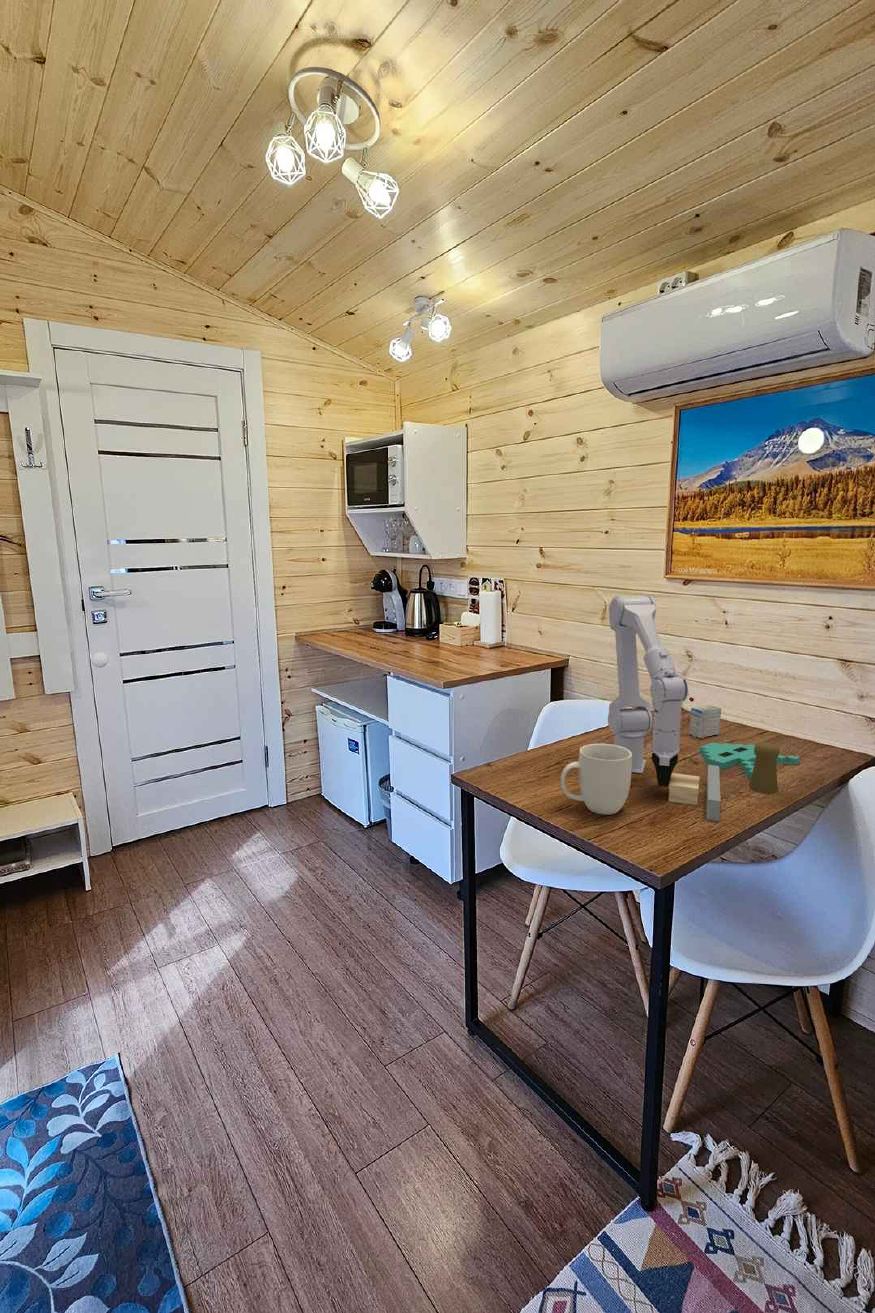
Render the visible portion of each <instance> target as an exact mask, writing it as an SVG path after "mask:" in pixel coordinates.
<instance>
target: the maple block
mask: <svg viewBox="0 0 875 1313" xmlns="http://www.w3.org/2000/svg"><path fill="white" fill-rule="evenodd" d="M668 787H669V789H668V790H669V791H668V802H671V803H678V804H685V805H691V806H698V804H699V803H698V800H699V790H700V788H699V787H700V776H698V775H690V774H683V773H676V772H672V774H671V778H670V782H669V785H668Z"/></svg>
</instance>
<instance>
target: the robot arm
mask: <svg viewBox="0 0 875 1313" xmlns="http://www.w3.org/2000/svg"><path fill="white" fill-rule="evenodd" d="M656 613H657V606H656V601H655V600H654V598H653V597H652V595H638V596H637V595H636V596H629V595H628V596H619V595H617V596H614V597H613V598H612V599H611V601H610V604H609V607H608V617H609V628H610V630H612V631H614V633H615V637H614V638H615V649H616V650H615V651H616V652H615V653H616V666H617V668H616V669H617V682H618V684H617V685H618V696H617V697H616V698H615V699H613V701H611V703H609V705H608V715H607V725H608V727H609V730H610V731H611V732H612V733H613V734H614V741H613V742H614V743H613V745H617V746H621V747H624V748H626V749H628V750H629V751H630V752H631V753H632V769H631V770H632V771H631V773H637V774H643V773H644V770H645V767H646V763H647V760H646V759H644V740H645V736H647V735H648V732H650V730H651V728H652V743H651V744H650V743H648V744H646V750H649V751H652V753H651V761H652V764H653V765H654V769H655V774H656V779H657V785H658V787H665V788H668V787H669V786H670V780H671V775H672V773H673V771H674V770H675V767H676V766H677V764H678V762H679V753H680V751H681V750H680V738H681V737H680V736H681V735H680V734H681V720H682V704H683V703H682V702H684V701H686V700H687V698H688V696H689V695H688V694H689V686H688V683H687V679H686V678H685V677H684V675H681V673H680V672H679V671H676V667H675V666H674V663H673V661H672V658H671V655H670V653H669V650H668V649H666V648H664V647H662V644H661V641H660V638H659V635H658V631H657V627H656V624H655V618H656ZM637 637H638V638H639V640H640V642H641V645H642V647H643V648H644V650H645V653H644V655H643V661H644V664H645V667H646V669H647V672H648V675H649V678H650V681H651V684H650V686H649V692H650V697H651V706H652V708H653V715H652V712H651V708H650V702H648V701H647V700H646V699H644V698H643V697H642V696H641V694H640V680H639V679H640V678H639V665H638V650H637V649H638V648H637ZM631 707H632V708H631ZM633 707H634V708H633Z"/></svg>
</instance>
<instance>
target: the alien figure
mask: <svg viewBox="0 0 875 1313" xmlns="http://www.w3.org/2000/svg"><path fill="white" fill-rule="evenodd" d="M755 745H756V744H751V743H750V744H747V745H745V744H741V743H736V744H731V743H728V742H725V743H719V742H711V743H707V744H704V745H701V746H699V751H698V753H699V754H701V753H702V754H701V757H702V758H703V761H704V760H705V761H704V762H706V765H707V766H708V765H713V766H719V770H722V771H723V770H725V769H729V768H731V767H730V766H732V767H734V766H737V765H738V764H740V765H739V766H740V769H742V770H743V769H744V771H743V774H745V773H746V774H745V775H747V778H748V779H750V780H751V776H752V772H753V768H754V764H755V760H756V755H755V753H754V748H755ZM800 760H801V758H800V757H799V756H796V755H791V754H790V755H788V756H784V755H782V754H779V756H778V757H777V758H776V763H779V764H778V765H780V764H783V763H785V762H788V763H791V764H794V765H795V764H797V763H799V764H800ZM736 764H737V765H736ZM783 765H784V764H783ZM794 765H793V766H794ZM795 766H796V765H795ZM728 767H729V768H728Z"/></svg>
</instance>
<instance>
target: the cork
mask: <svg viewBox="0 0 875 1313" xmlns="http://www.w3.org/2000/svg"><path fill="white" fill-rule="evenodd" d="M754 745H755V748H754V753H755V755H756V760H755V764H754V768H753V772H752V776H751V779H750V781H749V784H748V785H749V786H748V788H749V789H750V790H752V791H754V792H756V793H760V792H761V793H760V794H767V793H768V794H769V795H770V793H773V794H776V793H778V792H779V789H778V788H779V786H778V772H777V768H778V767H777V764H776V758H777V757H778V756H779V755H780V748H779V747H778V745H777V744H775V743H771V742H765V741H763V742H758V743H756V744H754Z"/></svg>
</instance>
